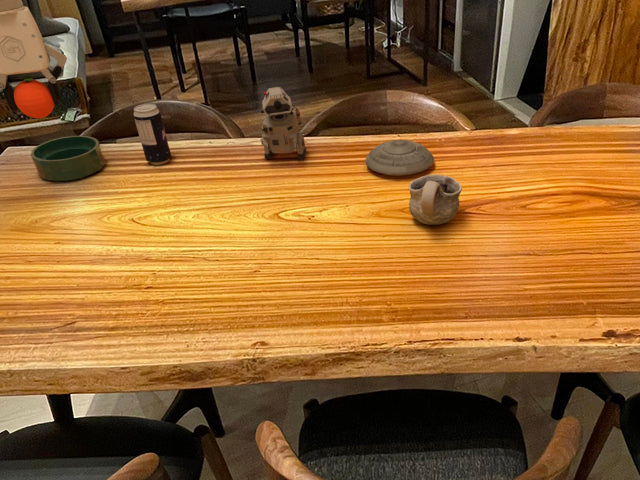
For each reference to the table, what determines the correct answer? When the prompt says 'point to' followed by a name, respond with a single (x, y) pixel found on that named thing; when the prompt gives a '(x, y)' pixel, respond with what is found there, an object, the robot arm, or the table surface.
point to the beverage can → (152, 134)
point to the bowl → (68, 158)
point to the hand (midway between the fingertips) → (37, 104)
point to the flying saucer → (399, 158)
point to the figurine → (281, 125)
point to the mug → (434, 199)
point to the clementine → (33, 98)
